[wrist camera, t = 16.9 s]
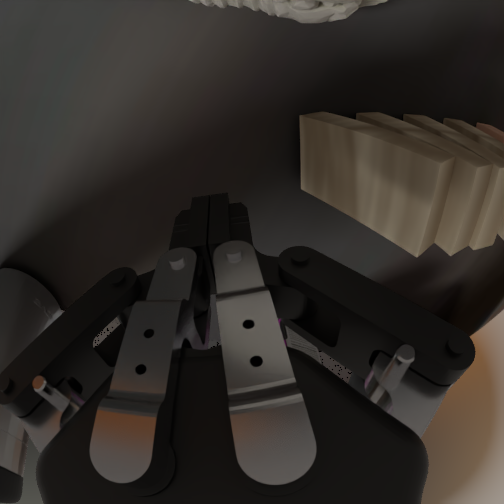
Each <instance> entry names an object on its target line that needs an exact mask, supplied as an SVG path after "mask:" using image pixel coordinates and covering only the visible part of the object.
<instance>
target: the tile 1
mask: <svg viewBox="0 0 504 504" xmlns="http://www.w3.org/2000/svg"><path fill="white" fill-rule="evenodd" d="M299 119H300V155H301V189H302V190H304V191H305V192H307V193H309V194H311V195H313V196H315V197H317V198H318V199H320V200H322V201H324V202H326V203H327V204H329V205H331V206H333V207H335V208H336V209H338V210H340V211H342V212H343V213H345V214H347V215H349V216H350V217H352V218H354V219H355V220H357V221H359V222H360V223H362V224H364V225H366V226H367V227H369V228H371V229H372V230H374V231H376V232H377V233H379V234H380V235H382V236H384V237H385V238H387V239H389V240H390V241H392V242H393V243H395V244H397V245H398V246H400V247H401V248H403V249H404V250H406V251H407V252H409V253H411V254H412V255H414V256H415V257H418V256H419V255H421V254H422V253H423V252H424V251H425V250H426V249H427V248H429V247H430V246H431V245H432V244H433V243H434V241H435V238H436V235H437V232H438V229H439V225H440V222H441V218H442V215H443V211H444V207H445V203H446V199H447V195H448V191H449V187H450V183H451V178H452V174H453V169H454V164H455V159H456V156H455V155H453V154H450V153H448V152H446V151H443V150H441V149H439V148H436V147H434V146H431V145H429V144H426V143H424V142H421V141H418V140H416V139H413V138H410V137H407V136H405V135H402V134H399V133H396V132H393V131H390V130H387V129H384V128H381V127H378V126H375V125H371V124H368V123H365V122H361V121H358V120H354V119H351V118H347V117H343V116H340V115H336V114H332V113H328V112H324V111H322V112H316V113H310V114H305V115H299Z"/></svg>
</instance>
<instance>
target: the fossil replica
mask: <svg viewBox="0 0 504 504" xmlns="http://www.w3.org/2000/svg"><path fill="white" fill-rule="evenodd" d="M189 1H192V2H195V3H203V4H204V5H206V6H214V5H215V4H216V5H217V6H219V7H221V8H226V7H227V6H228V5H229V6H235V7H238V8H242V7H244V6H247V7H249V8H251V9H252V10H254V11H260V10H262V11H264V12H266V13H268V15H271V16H274V15H277V16H278V17H284V18H290V19H294V20H296V21H298V22H300V23H322V22H326V21H329V22H333V21H336V20H340V19H346V18H347V17H348V16H350V15H351V14H352V13H353V12H354V11H356V10H357V9H358V8H359V7H364V6H372V5H377V4H379V3H385V2H386V1H388V0H189Z"/></svg>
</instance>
